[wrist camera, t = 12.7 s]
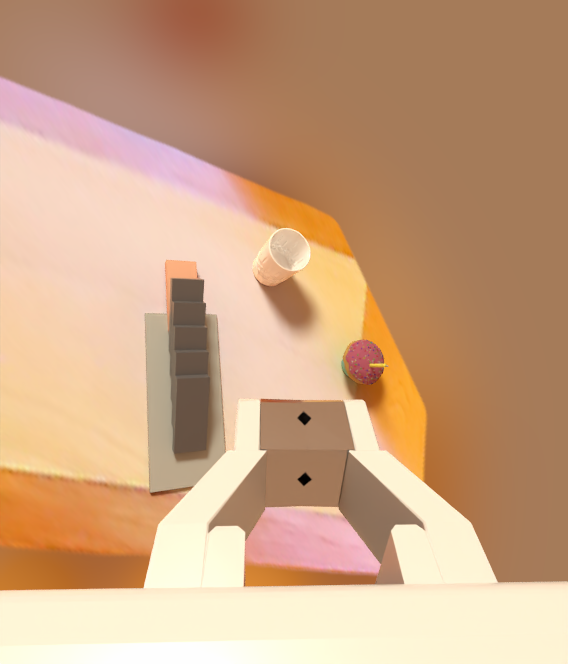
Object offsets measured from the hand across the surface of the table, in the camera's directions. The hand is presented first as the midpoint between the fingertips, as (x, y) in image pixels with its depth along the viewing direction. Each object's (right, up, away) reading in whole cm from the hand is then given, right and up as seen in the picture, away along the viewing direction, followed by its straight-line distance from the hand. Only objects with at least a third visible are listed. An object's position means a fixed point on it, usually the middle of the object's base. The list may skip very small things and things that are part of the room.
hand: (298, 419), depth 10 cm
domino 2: (-17, -1, +61) cm, 63 cm away
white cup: (-3, +14, +72) cm, 74 cm away
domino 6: (-15, -16, +57) cm, 62 cm away
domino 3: (-16, -5, +60) cm, 62 cm away
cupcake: (+13, -5, +75) cm, 76 cm away
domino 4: (-16, -9, +59) cm, 62 cm away
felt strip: (-17, -9, +60) cm, 63 cm away
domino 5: (-16, -13, +58) cm, 62 cm away
